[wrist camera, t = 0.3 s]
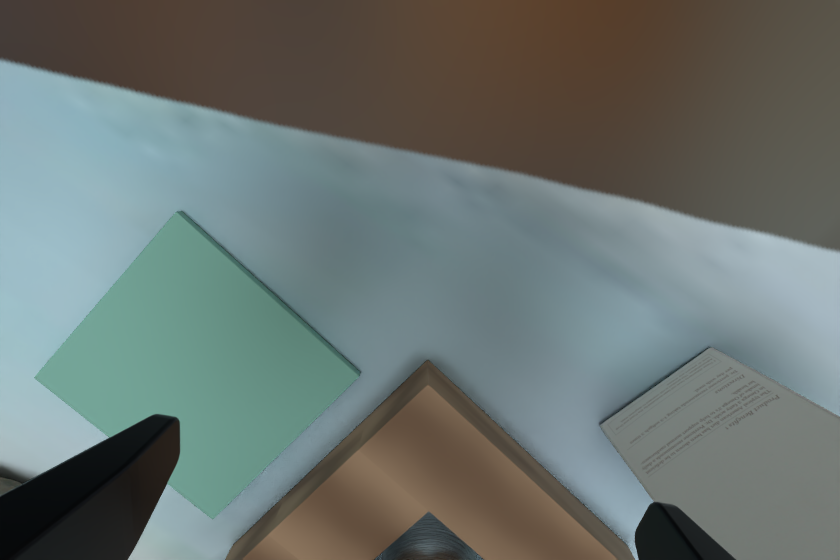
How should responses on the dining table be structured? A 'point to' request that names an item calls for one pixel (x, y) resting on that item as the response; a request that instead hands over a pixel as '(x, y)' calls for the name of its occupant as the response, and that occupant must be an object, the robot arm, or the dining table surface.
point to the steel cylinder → (429, 543)
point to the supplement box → (738, 458)
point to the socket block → (429, 489)
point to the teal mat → (199, 363)
